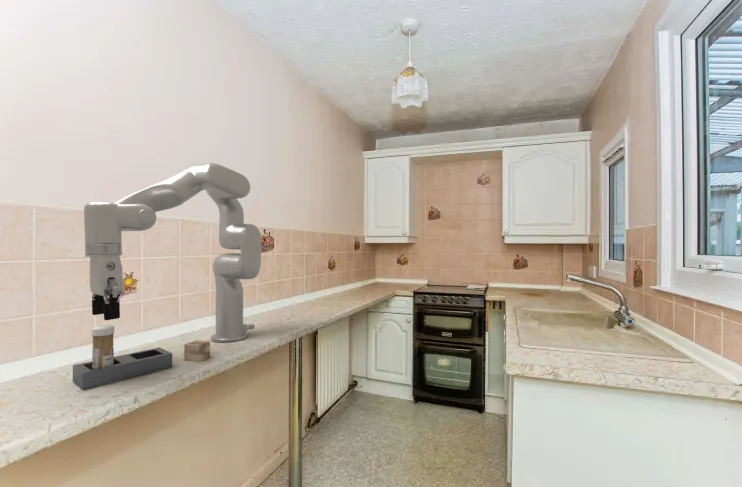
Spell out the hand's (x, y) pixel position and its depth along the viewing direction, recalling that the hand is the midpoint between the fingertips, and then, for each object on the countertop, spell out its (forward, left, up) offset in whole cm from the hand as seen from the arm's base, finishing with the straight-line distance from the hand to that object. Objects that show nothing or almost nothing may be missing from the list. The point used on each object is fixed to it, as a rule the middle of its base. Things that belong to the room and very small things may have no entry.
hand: (105, 316), depth 90 cm
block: (-22, +3, -16) cm, 28 cm away
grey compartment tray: (-4, 0, -16) cm, 17 cm away
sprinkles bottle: (+1, 0, -16) cm, 16 cm away
